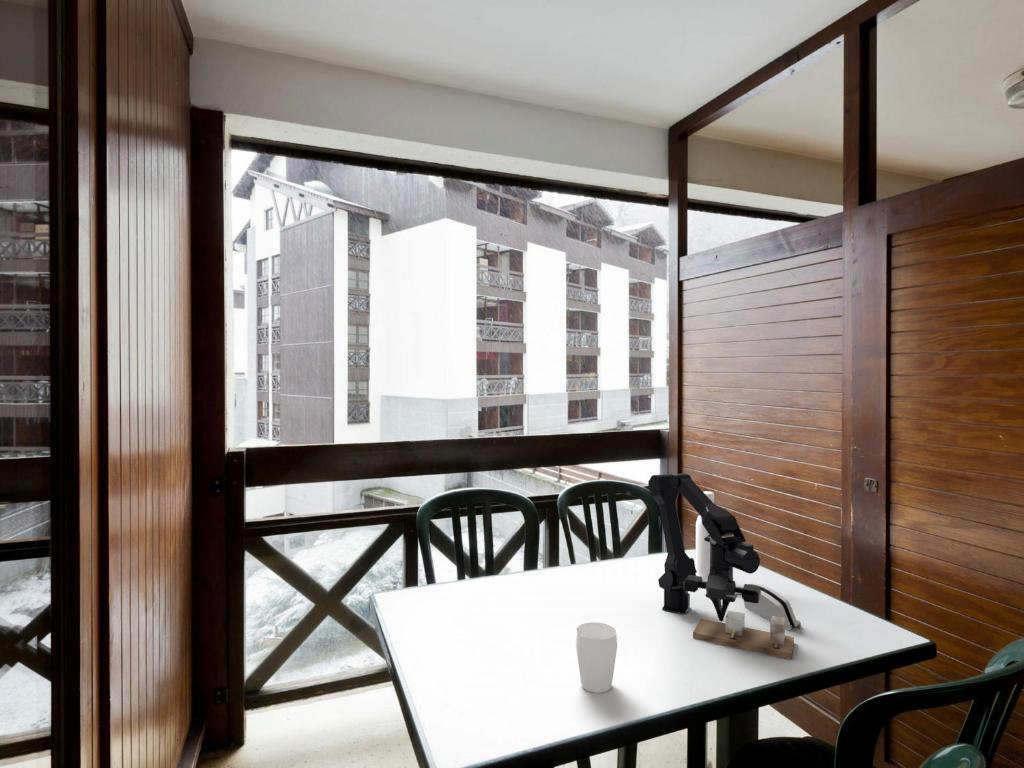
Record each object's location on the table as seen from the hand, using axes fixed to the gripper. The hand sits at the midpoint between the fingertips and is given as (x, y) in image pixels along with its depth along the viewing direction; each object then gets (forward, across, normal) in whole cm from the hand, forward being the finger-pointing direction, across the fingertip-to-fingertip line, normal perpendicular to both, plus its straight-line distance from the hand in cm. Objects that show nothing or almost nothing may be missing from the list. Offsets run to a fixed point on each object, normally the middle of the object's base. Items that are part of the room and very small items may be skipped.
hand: (721, 620), depth 150 cm
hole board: (+4, +6, -1) cm, 7 cm away
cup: (+4, -19, -40) cm, 45 cm away
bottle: (+4, -11, +38) cm, 40 cm away
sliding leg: (+2, +3, -1) cm, 4 cm away
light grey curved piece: (+4, +10, +18) cm, 21 cm away
